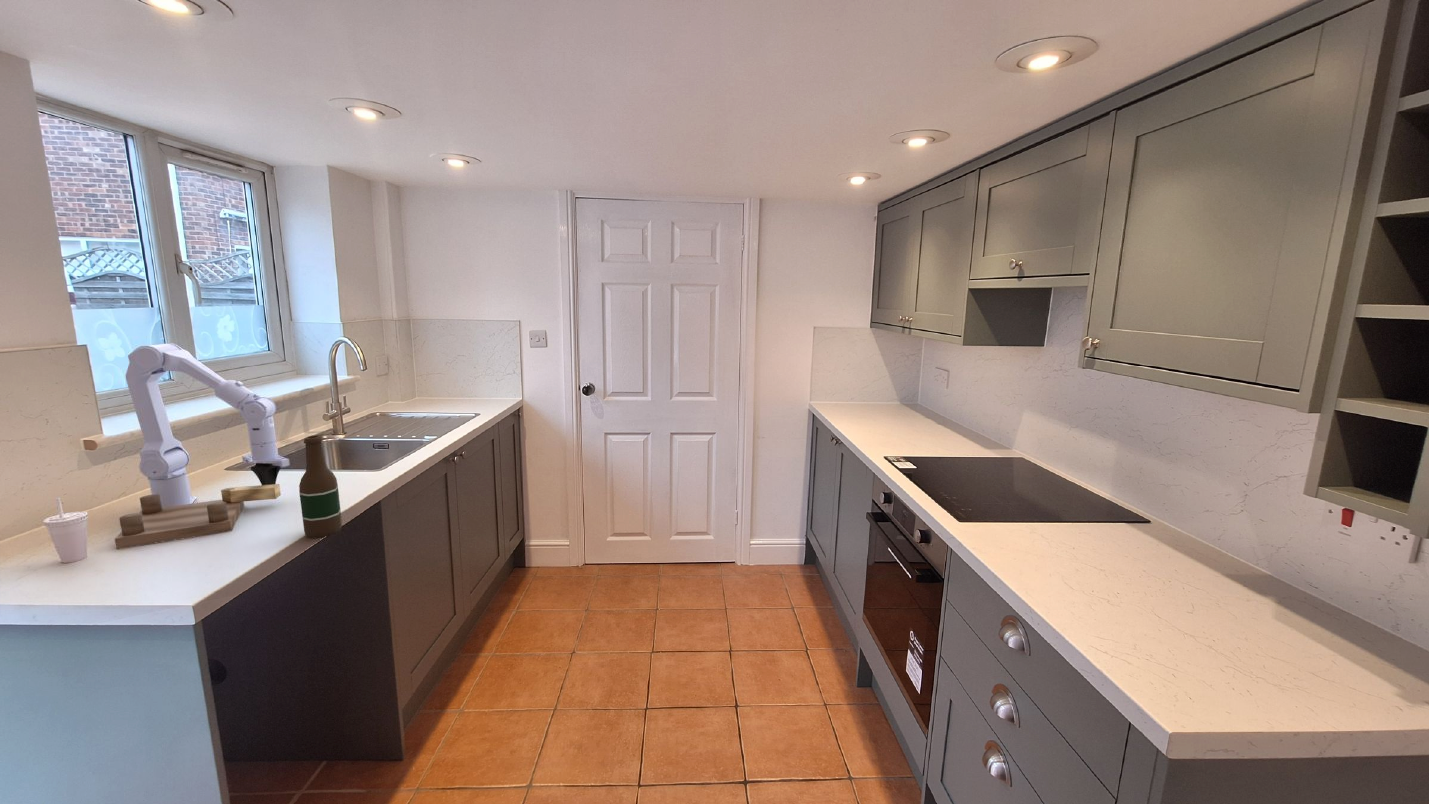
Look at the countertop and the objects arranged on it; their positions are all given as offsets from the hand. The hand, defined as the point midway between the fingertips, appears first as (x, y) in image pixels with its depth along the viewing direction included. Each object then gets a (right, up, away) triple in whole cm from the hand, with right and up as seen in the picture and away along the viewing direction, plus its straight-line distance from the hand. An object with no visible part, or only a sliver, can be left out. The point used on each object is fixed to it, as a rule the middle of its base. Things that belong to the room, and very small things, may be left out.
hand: (269, 489), depth 157 cm
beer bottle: (+29, -8, -19) cm, 36 cm away
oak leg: (0, -2, -6) cm, 6 cm away
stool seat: (-7, -6, -17) cm, 19 cm away
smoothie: (-14, -10, -35) cm, 39 cm away
